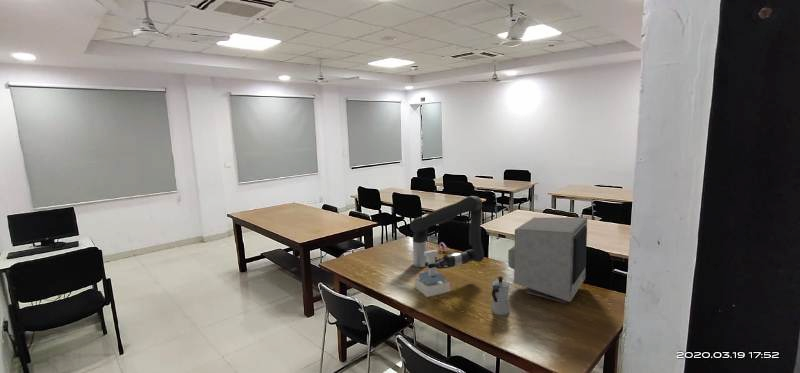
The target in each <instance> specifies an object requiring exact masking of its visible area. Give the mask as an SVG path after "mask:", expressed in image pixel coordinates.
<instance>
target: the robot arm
mask: <svg viewBox="0 0 800 373" xmlns="http://www.w3.org/2000/svg"><path fill="white" fill-rule="evenodd" d="M482 209H483V200H482V199H481V198H480V197H479V196H476V195H470V196H467V197H465V198H463V199H461V200H460V201H458V202H455V203H453V204H449V205H447V206H444V207H440V208H438V209H436V210H434V211H432V212H431V213H429V214H428V215H427V214H426V215H425V216H418V217H416V218H414V219H413V220H411V221H410V224H409V229H410V230H411V231H412V232H414V234H413V236H412V248H413V249H412V250H413V251H412V254H413V255H412V256H413V257H412V258H413V260H412V261H413V266H414V267H416V268H425V267H427V269H428V268H435V269H440V270H441V269H449V268H454V267H458V266H460V265H465V264H466V265H467V264H469V262H477V263H479V262H482V261H483V260H484V257H485V252H484V248H483V245H482V234H481V232H482V231H481V225H482V224H481V222H482ZM468 212H469V213H470V214H471V216H470V217H471V218H470V219H471V220H470V225H469V230H468V239H469V240H468V241H469V242H468V243H469V245H470V246H471V247H472V249H467V250H466V251H462V252H458V253H457V252H456V253H453V254H452V253H449V254H445V255H443V256H442V258H441V257H439V258H438V257H437V256H435V263H433V264H428V256H424V252H426V251H428V249H427V246H428V245H427V244H428V243H427V238H428V233H429V232H428V231H429V230H428V228H430V227H433V226H439V225H440V224H444V223H447V222H450V221H451V220H453V219H455V218H457V217H458V216H459V215H462V214H465V213H468Z"/></svg>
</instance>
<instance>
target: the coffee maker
mask: <svg viewBox="0 0 800 373" xmlns="http://www.w3.org/2000/svg"><path fill="white" fill-rule="evenodd" d="M497 278H498V280H494V281H492V283H491V286H492V291H491V296H492V298H493V299H492V300H493V301H492V307H491V311H492V313H493V314H494V315H497V316H508V315H509V313H510V311H511V310H510V306H509V301H508V298H509V297H508V296H509V289H510V282H507V280H504V278H503V276H501V275H500V276H497Z"/></svg>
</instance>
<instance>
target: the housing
mask: <svg viewBox="0 0 800 373" xmlns="http://www.w3.org/2000/svg"><path fill="white" fill-rule="evenodd" d="M414 288H415V289H416V290H418V291H419V292H420V293H422V295H424V296H425V297H427V298H428V297H434V296H437V295H441V294H444V293H445V294H446V293H450V292H451V284H450V282H449V281H448V280H446V279H445V280H443V281H439V282H435V283H430V284H427V283H426V282H424V281H423V280H422V279H420V278H419V277H417V278H415V279H414Z"/></svg>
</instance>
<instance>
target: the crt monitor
mask: <svg viewBox="0 0 800 373" xmlns="http://www.w3.org/2000/svg"><path fill="white" fill-rule="evenodd" d="M587 237H588V217H532V218H531V219H529V220H527V221H526V222H525V223H523V224H522V225H520V226H518V227H517V228H515V229H514V246H512V247H511V248H509V249H508V253H507V255H508V256H507V258H508V259H507V262H508V266H509V268H510V269H513V284H516V285H519V286H522V287H525V288H527V289H526V290H525V291H524V293H525V294H528V295H534V296H538V297H540V298H544V299H548V300H551V301H555V302H560V303H564V304H565V303H566V302H568V303H569V302H572V300H573V299H574V297H575V295H576V294H577V292H578V290H579V289H580V287H581V286H582V285H583V283H584V281H585V280H586V267H587V266H586V265H587V241H588V240H587V239H588V238H587Z"/></svg>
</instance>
